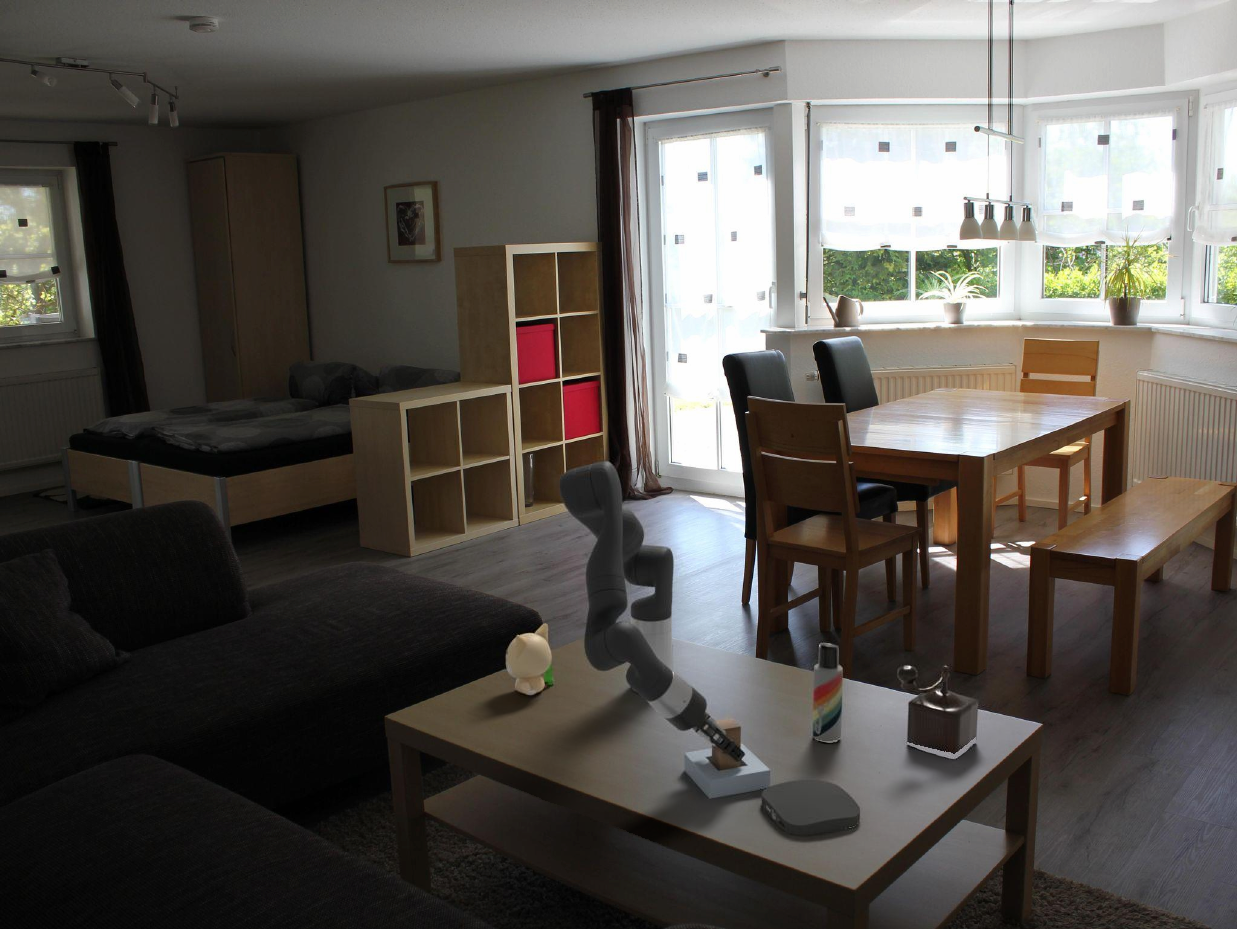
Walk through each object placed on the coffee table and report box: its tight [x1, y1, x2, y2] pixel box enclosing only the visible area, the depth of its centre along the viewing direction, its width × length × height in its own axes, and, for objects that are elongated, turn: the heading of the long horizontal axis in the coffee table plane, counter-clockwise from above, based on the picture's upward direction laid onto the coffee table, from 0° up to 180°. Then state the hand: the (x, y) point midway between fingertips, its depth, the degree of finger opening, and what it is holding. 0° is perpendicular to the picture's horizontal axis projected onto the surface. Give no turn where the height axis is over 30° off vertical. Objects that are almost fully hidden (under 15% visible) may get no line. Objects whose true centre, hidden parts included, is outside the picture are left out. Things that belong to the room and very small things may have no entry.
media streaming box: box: [761, 779, 861, 837], centre depth 187 cm, size 15×15×3 cm
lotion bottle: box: [812, 642, 844, 741], centre depth 214 cm, size 6×6×20 cm
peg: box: [711, 717, 742, 771], centre depth 198 cm, size 4×4×10 cm
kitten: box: [505, 623, 555, 696], centre depth 242 cm, size 15×10×15 cm
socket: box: [683, 742, 771, 800], centre depth 199 cm, size 12×12×4 cm
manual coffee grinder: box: [896, 664, 979, 754], centre depth 209 cm, size 16×11×18 cm
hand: (735, 752), depth 199 cm, fingers closed on peg, 4 cm apart
